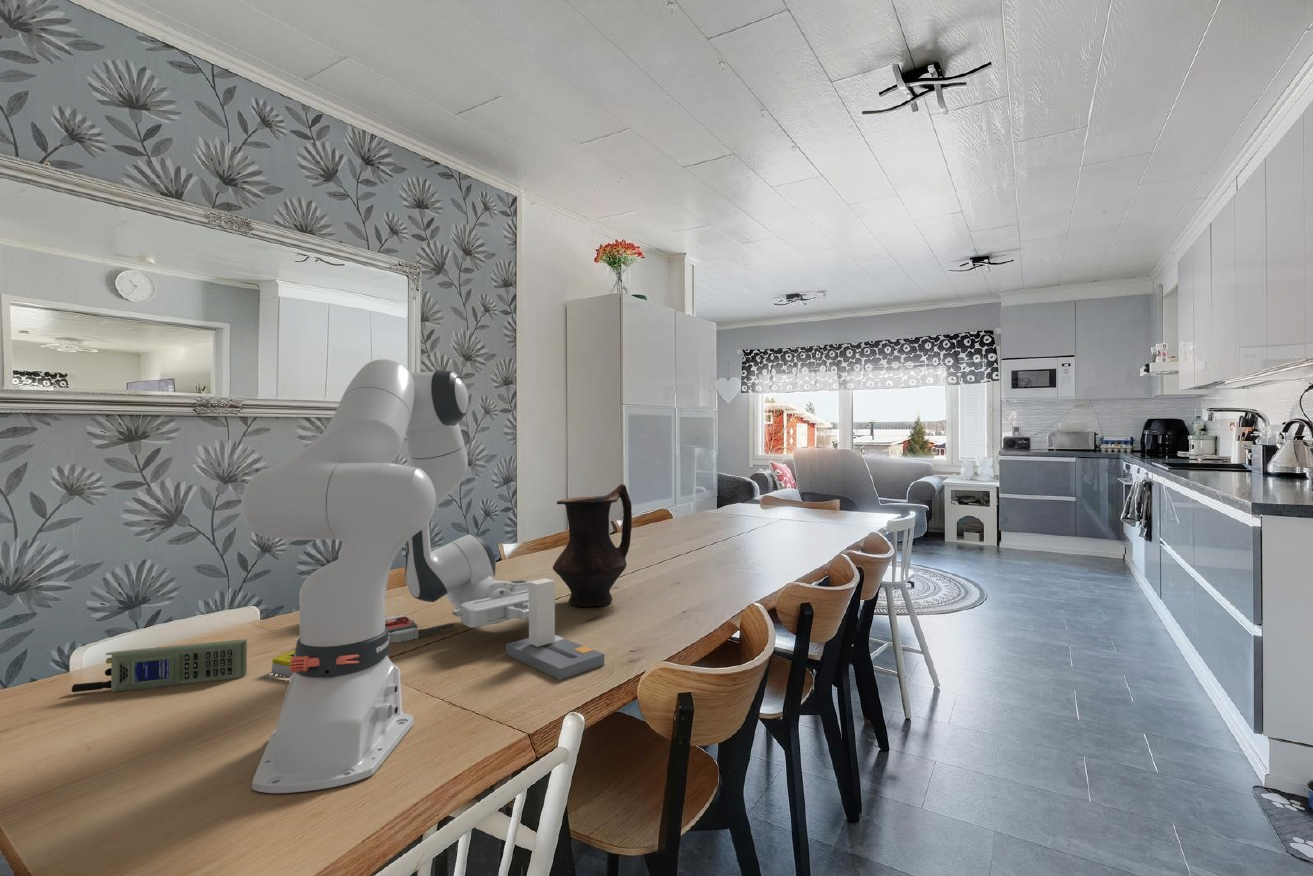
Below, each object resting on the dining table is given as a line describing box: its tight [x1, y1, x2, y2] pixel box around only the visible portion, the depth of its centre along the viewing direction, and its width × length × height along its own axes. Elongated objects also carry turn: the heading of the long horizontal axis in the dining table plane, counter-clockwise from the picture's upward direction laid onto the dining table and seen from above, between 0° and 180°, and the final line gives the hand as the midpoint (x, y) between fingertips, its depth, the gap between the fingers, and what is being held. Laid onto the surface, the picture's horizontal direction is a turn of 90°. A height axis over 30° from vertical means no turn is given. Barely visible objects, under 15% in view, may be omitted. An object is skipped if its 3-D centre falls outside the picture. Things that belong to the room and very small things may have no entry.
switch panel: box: [505, 634, 605, 681], centre depth 116 cm, size 18×10×2 cm, turn 45°
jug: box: [552, 483, 633, 607], centre depth 156 cm, size 21×18×30 cm
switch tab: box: [528, 577, 556, 647], centre depth 119 cm, size 3×4×12 cm
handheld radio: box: [71, 638, 248, 693], centre depth 106 cm, size 7×3×25 cm
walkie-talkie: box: [385, 614, 455, 643], centre depth 131 cm, size 9×4×20 cm
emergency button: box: [263, 649, 296, 681], centre depth 114 cm, size 9×4×15 cm
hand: (529, 614), depth 122 cm, fingers closed
